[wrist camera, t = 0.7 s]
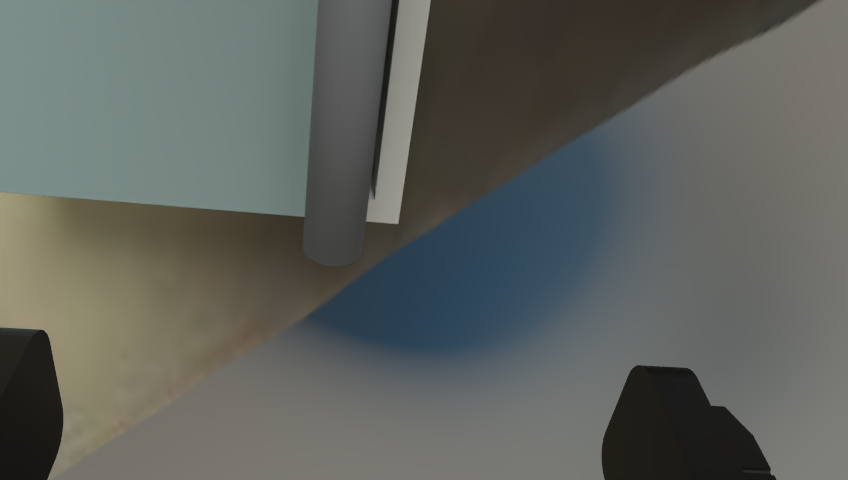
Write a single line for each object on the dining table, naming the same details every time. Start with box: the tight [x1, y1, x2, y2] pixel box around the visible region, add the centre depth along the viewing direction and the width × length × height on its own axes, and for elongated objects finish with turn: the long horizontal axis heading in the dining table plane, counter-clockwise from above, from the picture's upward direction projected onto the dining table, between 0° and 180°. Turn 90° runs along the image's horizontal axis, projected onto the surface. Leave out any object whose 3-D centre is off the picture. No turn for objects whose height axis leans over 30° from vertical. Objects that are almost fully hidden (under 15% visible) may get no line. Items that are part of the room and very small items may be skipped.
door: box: [0, 0, 392, 267], centre depth 21 cm, size 15×14×6 cm
